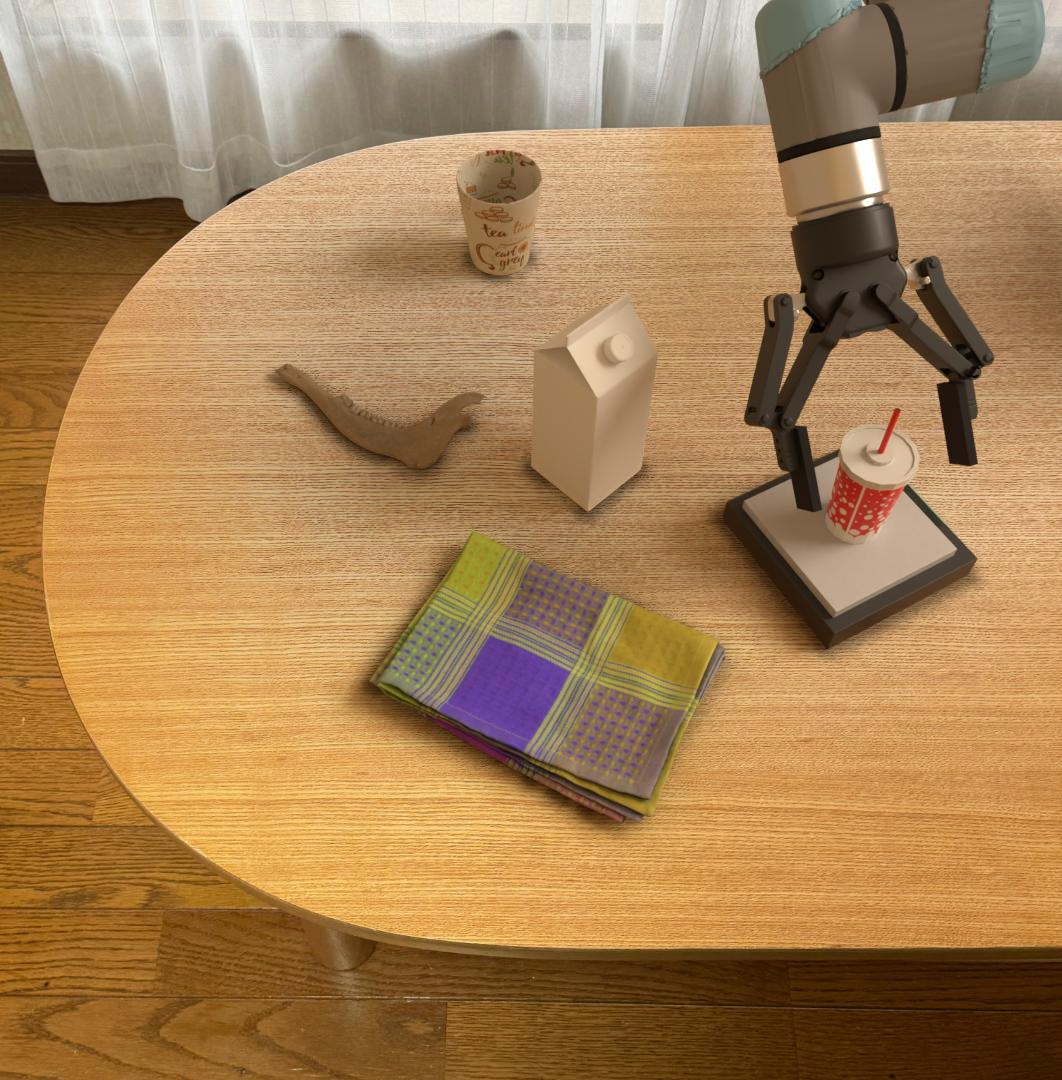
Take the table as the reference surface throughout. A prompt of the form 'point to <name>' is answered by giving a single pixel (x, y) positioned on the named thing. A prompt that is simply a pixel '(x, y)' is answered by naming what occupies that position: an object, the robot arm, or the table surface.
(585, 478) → the milk carton
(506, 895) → the table surface
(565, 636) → the dish towel
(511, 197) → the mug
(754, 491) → the kitchen scale
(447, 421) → the jawbone
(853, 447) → the beverage cup
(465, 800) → the table surface
